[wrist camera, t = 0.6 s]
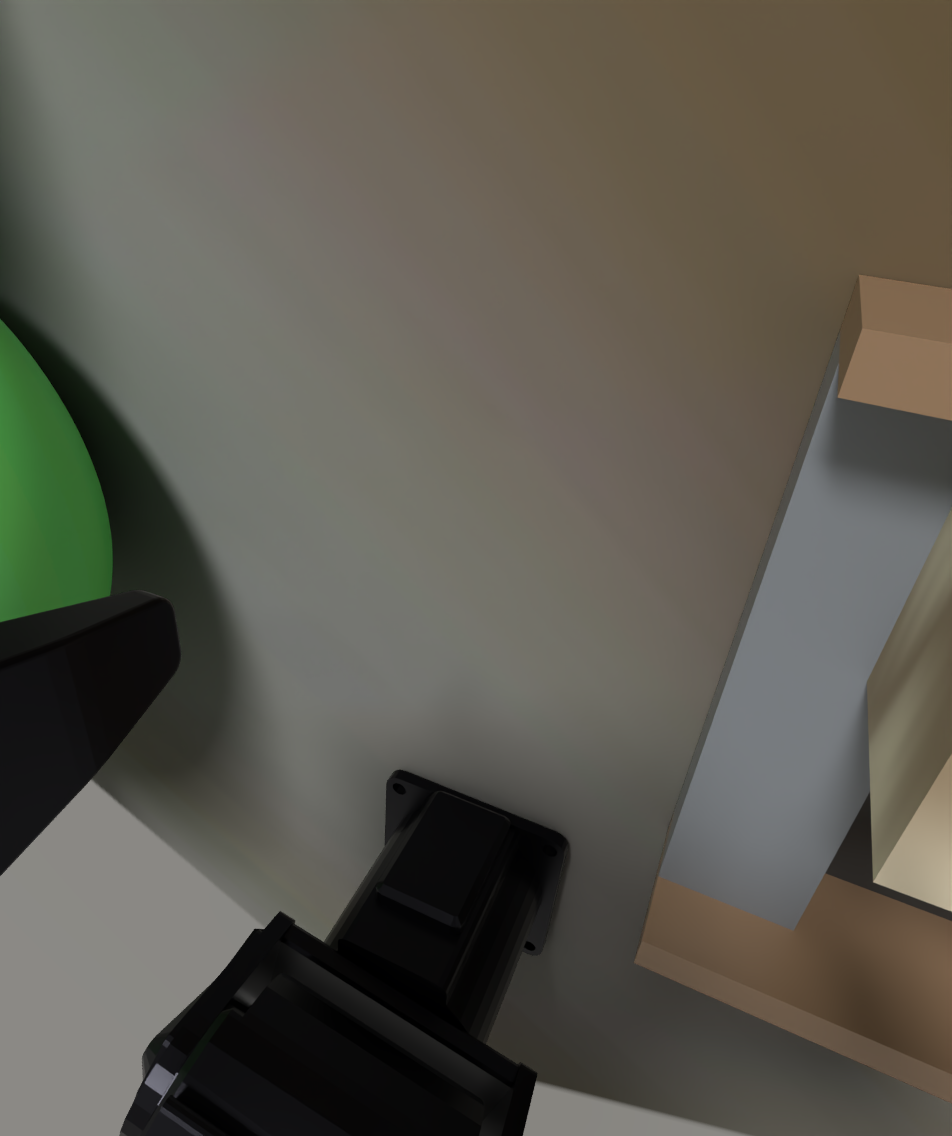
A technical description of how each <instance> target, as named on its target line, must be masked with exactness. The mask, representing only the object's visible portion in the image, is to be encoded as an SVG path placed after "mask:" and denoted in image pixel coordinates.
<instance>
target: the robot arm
mask: <svg viewBox="0 0 952 1136" xmlns="http://www.w3.org/2000/svg"><path fill="white" fill-rule="evenodd" d="M180 660H181V647H180V641H179V634H178V628H177V622H176V616H175V610H174V607H173V605H172V603H171V602H170V601H169V600H168V599H167V598H165V597H162V596H159V595H156V594H153V593H150V592H147V591H143V590H133V591H129V592H125V593H120V594H116V595H112V596H108V597H103V598H99V599H95V600H91V601H87V602H82V603H78V604H74V605H70V606H66V607H61V608H57V609H53V610H49V611H44V612H40V613H36V614H32V615H28V616H23V617H19V618H15V619H11V620H7V621H2V622H0V876H1V875H2V874H3V873H4V872H5V871H6V870H7V868H8V867H9V866H10V865H11V864H12V863H13V862H14V861H15V860H16V859H17V858H18V857H19V856H20V855H21V854H22V852H23V851H24V850H25V849H26V848H27V847H28V846H29V845H30V844H31V843H32V842H33V841H34V840H35V839H36V838H37V837H38V835H39V834H40V833H41V832H42V831H43V830H44V829H45V828H46V827H47V826H48V825H49V824H50V823H51V822H52V820H54V818H55V817H56V816H57V815H58V814H59V813H60V812H61V811H62V810H63V809H64V808H65V807H66V805H68V804H69V802H70V801H71V800H72V799H73V798H74V797H75V796H76V795H77V794H78V793H79V792H80V791H81V790H82V789H83V788H84V786H85V785H86V784H87V783H88V782H89V781H90V780H91V779H92V778H93V776H94V775H95V774H96V773H97V772H98V771H99V770H100V768H101V767H102V766H103V765H104V763H105V762H106V761H107V760H108V759H109V757H110V756H111V755H112V754H113V752H114V751H115V750H116V748H117V747H118V746H119V745H120V743H121V742H122V741H123V739H124V738H125V737H126V736H127V734H128V733H129V732H130V730H131V729H132V728H133V727H134V725H135V724H136V723H137V721H138V720H139V719H140V718H141V716H142V715H143V714H144V712H145V711H146V710H147V709H148V707H149V706H150V705H151V704H152V702H153V701H154V700H155V698H156V697H157V696H158V695H159V693H160V692H161V691H162V689H163V688H164V687H165V686H166V684H167V683H168V682H169V680H170V679H171V678H172V677H173V675H174V674H175V672H176V671H177V669H178V667H179V664H180ZM567 849H568V843H567V841H566V839H565V838H564V837H563V836H562V835H561V834H559V833H557V832H555V831H553V830H550V829H548V828H545V827H543V826H540V825H538V824H535V823H533V822H530V821H528V820H525V819H523V818H520V817H518V816H516V815H513V814H511V813H508V812H506V811H503V810H501V809H498V808H496V807H493V806H491V805H488V804H486V803H483V802H481V801H478V800H476V799H473V798H471V797H468V796H466V795H463V794H461V793H458V792H456V791H453V790H451V789H448V788H446V787H443V786H441V785H439V784H436V783H434V782H431V781H429V780H426V779H424V778H421V777H419V776H416V775H414V774H411V773H409V772H406V771H403V770H396V771H394V772H393V773H392V775H391V776H390V778H389V779H388V781H387V786H386V823H385V847H384V849H383V850H382V852H381V853H380V855H379V856H378V858H377V860H376V861H375V863H374V864H373V866H372V867H371V869H370V871H369V872H368V874H367V875H366V877H365V878H364V880H363V881H362V883H361V885H360V886H359V888H358V889H357V891H356V892H355V894H354V896H353V897H352V899H351V900H350V902H349V903H348V905H347V907H346V908H345V910H344V911H343V913H342V914H341V916H340V918H339V919H338V921H337V922H336V924H335V925H334V927H333V928H332V930H331V932H330V933H329V935H328V936H327V938H326V939H325V941H324V942H322V941H321V940H319V939H318V938H316V937H315V936H313V935H311V934H310V933H308V932H307V931H305V930H303V929H302V928H300V927H299V926H297V925H295V920H294V919H292V918H291V917H289V916H287V915H286V914H284V913H283V912H281V911H280V912H279V913H278V914H277V915H276V916H275V917H274V919H273V920H272V921H271V922H270V923H269V924H268V926H267V927H266V928H265V929H254V931H253V932H252V933H251V934H250V936H249V937H248V938H247V940H246V941H245V943H244V944H243V945H242V947H241V948H240V949H239V951H238V952H237V953H236V955H235V956H234V958H233V959H232V960H231V962H230V963H229V964H228V965H227V967H226V968H225V969H224V970H223V971H222V972H221V974H220V975H219V976H218V977H217V978H216V979H215V981H214V982H213V983H212V984H211V985H210V986H209V987H207V988H206V989H205V990H204V991H203V992H202V993H201V994H200V995H199V996H198V997H197V998H196V999H195V1000H194V1001H193V1002H192V1003H190V1004H189V1005H188V1006H187V1007H186V1008H185V1009H184V1010H183V1011H182V1012H181V1013H180V1014H179V1015H178V1016H177V1017H176V1018H174V1020H172V1021H171V1022H170V1023H169V1024H168V1025H167V1026H166V1027H165V1028H164V1029H163V1030H162V1031H161V1032H160V1033H159V1034H157V1035H156V1037H155V1038H154V1039H153V1040H152V1041H151V1042H150V1044H149V1045H148V1047H147V1049H146V1050H145V1052H144V1054H143V1056H142V1067H143V1068H142V1069H143V1082H142V1084H141V1086H140V1088H139V1090H138V1092H137V1094H136V1097H135V1100H134V1102H133V1104H132V1106H131V1108H130V1110H129V1112H128V1114H127V1116H126V1118H125V1121H124V1124H123V1126H122V1128H121V1131H120V1136H523V1132H524V1128H525V1124H526V1119H527V1115H528V1111H529V1107H530V1103H531V1099H532V1095H533V1090H534V1086H535V1082H536V1078H537V1072H535V1071H534V1070H532V1069H531V1068H529V1067H527V1066H526V1065H524V1064H523V1063H521V1062H520V1063H519V1064H516V1063H514V1062H513V1061H511V1060H510V1059H508V1058H507V1057H505V1056H503V1055H502V1054H500V1053H499V1052H497V1051H495V1050H494V1049H492V1048H491V1047H489V1046H488V1045H486V1042H487V1039H488V1037H489V1034H490V1032H491V1029H492V1027H493V1024H494V1022H495V1019H496V1017H497V1014H498V1011H499V1009H500V1006H501V1004H502V1001H503V999H504V996H505V994H506V991H507V989H508V986H509V984H510V981H511V978H512V976H513V973H514V971H515V968H516V966H517V963H518V961H519V958H520V956H521V953H522V951H523V952H525V953H527V954H530V955H540V954H541V952H542V950H543V947H544V945H545V942H546V937H547V933H548V929H549V925H550V920H551V916H552V912H553V908H554V904H555V899H556V895H557V891H558V887H559V883H560V878H561V874H562V870H563V866H564V861H565V857H566V853H567Z"/></svg>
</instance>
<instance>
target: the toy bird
mask: <svg viewBox="0 0 952 1136" xmlns="http://www.w3.org/2000/svg"><path fill="white" fill-rule="evenodd" d="M112 573H113V550H112V538H111V530H110V523H109V518H108V513H107V508H106V504H105V500H104V496H103V492H102V489H101V486H100V483H99V480H98V477H97V474H96V471H95V468H94V466H93V463H92V460H91V458H90V455H89V453H88V451H87V448H86V446H85V444H84V442H83V440H82V438H81V435H80V433H79V431H78V429H77V427H76V425H75V424H74V422H73V420H72V418H71V416H70V414H69V412H68V411H67V409H66V407H65V405H64V404H63V402H62V400H61V399H60V397H59V395H58V394H57V392H56V391H55V389H54V388H53V386H52V384H51V383H50V381H49V380H48V378H47V377H46V376H45V374H44V373H43V371H42V370H41V368H40V367H39V366H38V364H37V363H36V361H35V360H34V359H33V357H32V356H31V355H30V353H29V352H28V351H27V350H26V348H25V347H24V346H23V345H22V343H21V342H20V341H19V340H18V338H17V337H16V336H15V335H14V334H13V333H12V331H11V330H10V329H9V328H8V327H7V326H6V325H5V323H4V322H3V321H2V320H1V319H0V622H2V621H7V620H11V619H15V618H19V617H23V616H28V615H32V614H36V613H40V612H44V611H49V610H53V609H57V608H61V607H66V606H70V605H74V604H78V603H82V602H87V601H91V600H95V599H99V598H103V597H108V596H110V593H111V585H112Z"/></svg>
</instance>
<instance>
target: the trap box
mask: <svg viewBox="0 0 952 1136" xmlns="http://www.w3.org/2000/svg"><path fill="white" fill-rule="evenodd" d="M951 508H952V289H948V288H941V287H935V286H929V285H922V284H916V283H909V282H903V281H897V280H890V279H884V278H877V277H871V276H865V275H859V277H858V279H857V282H856V285H855V288H854V291H853V294H852V297H851V300H850V303H849V306H848V308H847V311H846V314H845V317H844V320H843V323H842V326H841V329H840V332H839V335H838V337H837V340H836V343H835V346H834V349H833V352H832V355H831V358H830V361H829V364H828V366H827V369H826V372H825V375H824V378H823V381H822V384H821V387H820V390H819V393H818V395H817V398H816V401H815V404H814V407H813V410H812V413H811V416H810V419H809V422H808V425H807V427H806V430H805V433H804V436H803V439H802V442H801V445H800V448H799V451H798V454H797V456H796V459H795V462H794V465H793V468H792V471H791V474H790V477H789V480H788V483H787V485H786V488H785V491H784V494H783V497H782V500H781V503H780V506H779V509H778V512H777V514H776V517H775V520H774V523H773V526H772V529H771V532H770V535H769V538H768V541H767V543H766V546H765V549H764V552H763V555H762V558H761V561H760V564H759V567H758V570H757V572H756V575H755V578H754V581H753V584H752V587H751V590H750V593H749V596H748V599H747V601H746V604H745V607H744V610H743V613H742V616H741V619H740V622H739V625H738V628H737V631H736V633H735V636H734V639H733V642H732V645H731V648H730V651H729V654H728V657H727V660H726V662H725V665H724V668H723V671H722V674H721V677H720V680H719V683H718V686H717V689H716V691H715V694H714V697H713V700H712V703H711V706H710V709H709V712H708V715H707V718H706V720H705V723H704V726H703V729H702V732H701V735H700V738H699V741H698V744H697V747H696V749H695V752H694V755H693V758H692V761H691V764H690V767H689V770H688V773H687V776H686V778H685V781H684V784H683V787H682V790H681V793H680V796H679V799H678V802H677V805H676V807H675V810H674V813H673V816H672V819H671V822H670V825H669V828H668V831H667V835H666V839H665V843H664V847H663V850H662V854H661V858H660V862H659V866H658V870H657V874H656V878H655V882H654V886H653V890H652V893H651V897H650V901H649V905H648V909H647V913H646V917H645V921H644V925H643V929H642V933H641V937H640V940H639V944H638V948H637V952H636V956H635V960H634V963H635V964H637V965H640V966H642V967H644V968H647V969H649V970H651V971H653V972H656V973H658V974H660V975H662V976H665V977H667V978H669V979H671V980H674V981H676V982H678V983H680V984H683V985H685V986H687V987H690V988H692V989H694V990H696V991H699V992H701V993H703V994H705V995H708V996H710V997H712V998H714V999H717V1000H719V1001H721V1002H723V1003H726V1004H728V1005H730V1006H732V1007H735V1008H737V1009H739V1010H742V1011H744V1012H746V1013H748V1014H751V1015H753V1016H755V1017H757V1018H760V1019H762V1020H764V1021H766V1022H769V1023H771V1024H773V1025H775V1026H778V1027H780V1028H782V1029H785V1030H787V1031H789V1032H791V1033H794V1034H796V1035H798V1036H800V1037H803V1038H805V1039H807V1040H809V1041H812V1042H814V1043H816V1044H818V1045H821V1046H823V1047H825V1048H827V1049H830V1050H832V1051H834V1052H837V1053H839V1054H841V1055H843V1056H846V1057H848V1058H850V1059H852V1060H855V1061H857V1062H859V1063H861V1064H864V1065H866V1066H868V1067H870V1068H873V1069H875V1070H877V1071H880V1072H882V1073H884V1074H886V1075H889V1076H891V1077H893V1078H895V1079H898V1080H900V1081H902V1082H904V1083H907V1084H909V1085H911V1086H913V1087H916V1088H918V1089H920V1090H922V1091H925V1092H927V1093H929V1094H932V1095H934V1096H936V1097H938V1098H941V1099H943V1100H945V1101H947V1102H950V1103H952V912H951V911H949V910H946V909H943V908H941V907H938V906H935V905H933V904H930V903H927V902H925V901H922V900H919V899H917V898H914V897H911V896H909V895H906V894H903V893H901V892H898V891H895V890H893V889H890V888H887V887H885V886H882V885H879V884H877V883H874V882H873V864H872V832H871V799H870V767H869V734H868V702H867V680H868V678H869V676H870V674H871V672H872V670H873V668H874V666H875V664H876V662H877V660H878V658H879V656H880V654H881V652H882V650H883V648H884V646H885V644H886V641H887V639H888V637H889V635H890V633H891V631H892V629H893V627H894V625H895V623H896V621H897V619H898V617H899V615H900V613H901V611H902V609H903V607H904V605H905V602H906V600H907V598H908V596H909V594H910V592H911V590H912V588H913V586H914V584H915V582H916V580H917V578H918V576H919V574H920V572H921V570H922V568H923V566H924V564H925V561H926V559H927V557H928V555H929V553H930V551H931V549H932V547H933V545H934V543H935V541H936V539H937V537H938V535H939V533H940V531H941V529H942V527H943V525H944V522H945V520H946V518H947V516H948V514H949V512H950V510H951Z"/></svg>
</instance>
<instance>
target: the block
mask: <svg viewBox="0 0 952 1136" xmlns="http://www.w3.org/2000/svg"><path fill="white" fill-rule="evenodd" d="M867 702H868V734H869V767H870V799H871V832H872V864H873V882H874V883H877V884H879V885H882V886H885V887H887V888H890V889H893V890H895V891H898V892H901V893H903V894H906V895H909V896H911V897H914V898H917V899H919V900H922V901H925V902H927V903H930V904H933V905H935V906H938V907H941V908H943V909H946V910H949V911H951V912H952V508H951V510H950V512H949V514H948V516H947V518H946V520H945V522H944V525H943V527H942V529H941V531H940V533H939V535H938V537H937V539H936V541H935V543H934V545H933V547H932V549H931V551H930V553H929V555H928V557H927V559H926V561H925V564H924V566H923V568H922V570H921V572H920V574H919V576H918V578H917V580H916V582H915V584H914V586H913V588H912V590H911V592H910V594H909V596H908V598H907V600H906V602H905V605H904V607H903V609H902V611H901V613H900V615H899V617H898V619H897V621H896V623H895V625H894V627H893V629H892V631H891V633H890V635H889V637H888V639H887V641H886V644H885V646H884V648H883V650H882V652H881V654H880V656H879V658H878V660H877V662H876V664H875V666H874V668H873V670H872V672H871V674H870V676H869V678H868V680H867Z"/></svg>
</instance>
